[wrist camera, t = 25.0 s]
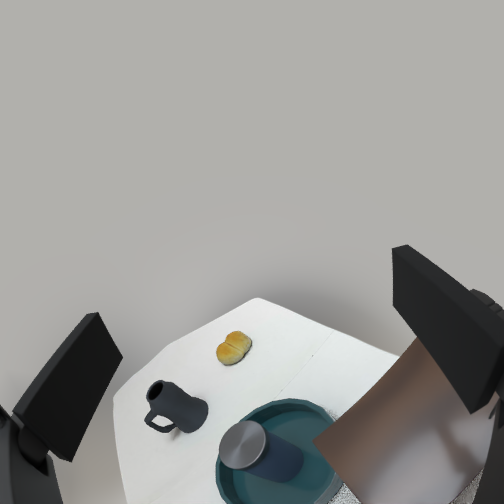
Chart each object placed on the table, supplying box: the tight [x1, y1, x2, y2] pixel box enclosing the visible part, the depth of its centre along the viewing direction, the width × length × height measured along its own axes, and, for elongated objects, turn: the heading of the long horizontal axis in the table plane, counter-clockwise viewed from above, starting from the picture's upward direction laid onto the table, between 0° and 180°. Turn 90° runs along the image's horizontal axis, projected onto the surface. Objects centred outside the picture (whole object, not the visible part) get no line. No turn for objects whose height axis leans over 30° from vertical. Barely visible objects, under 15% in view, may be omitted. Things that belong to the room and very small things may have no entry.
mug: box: [144, 380, 208, 433], centre depth 49 cm, size 12×9×11 cm
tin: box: [219, 421, 304, 482], centre depth 30 cm, size 7×7×10 cm
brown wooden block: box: [312, 337, 499, 504], centre depth 16 cm, size 12×12×18 cm
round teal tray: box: [216, 398, 343, 504], centre depth 31 cm, size 21×21×4 cm
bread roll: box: [216, 331, 251, 365], centre depth 62 cm, size 8×9×4 cm
